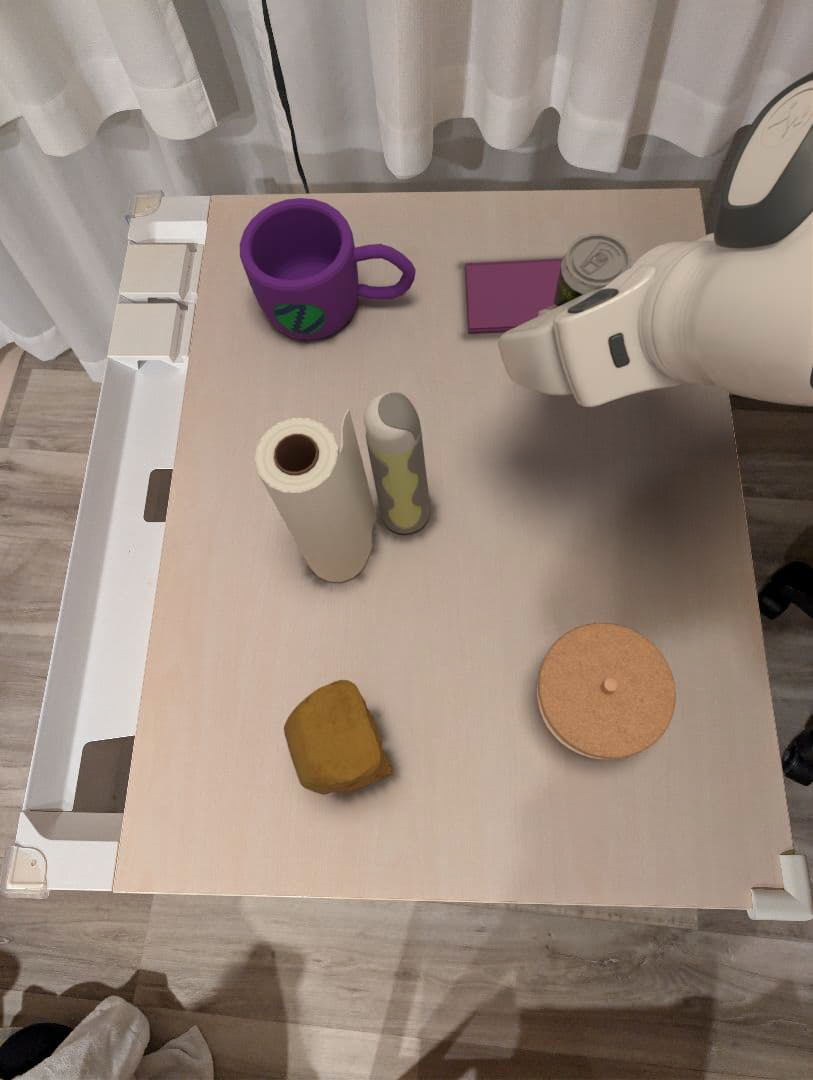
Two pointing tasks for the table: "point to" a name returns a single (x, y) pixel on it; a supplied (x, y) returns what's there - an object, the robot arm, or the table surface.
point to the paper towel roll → (320, 493)
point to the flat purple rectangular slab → (508, 292)
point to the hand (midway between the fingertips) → (581, 301)
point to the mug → (311, 267)
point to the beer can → (590, 266)
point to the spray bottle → (397, 461)
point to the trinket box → (606, 691)
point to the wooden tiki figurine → (335, 741)
